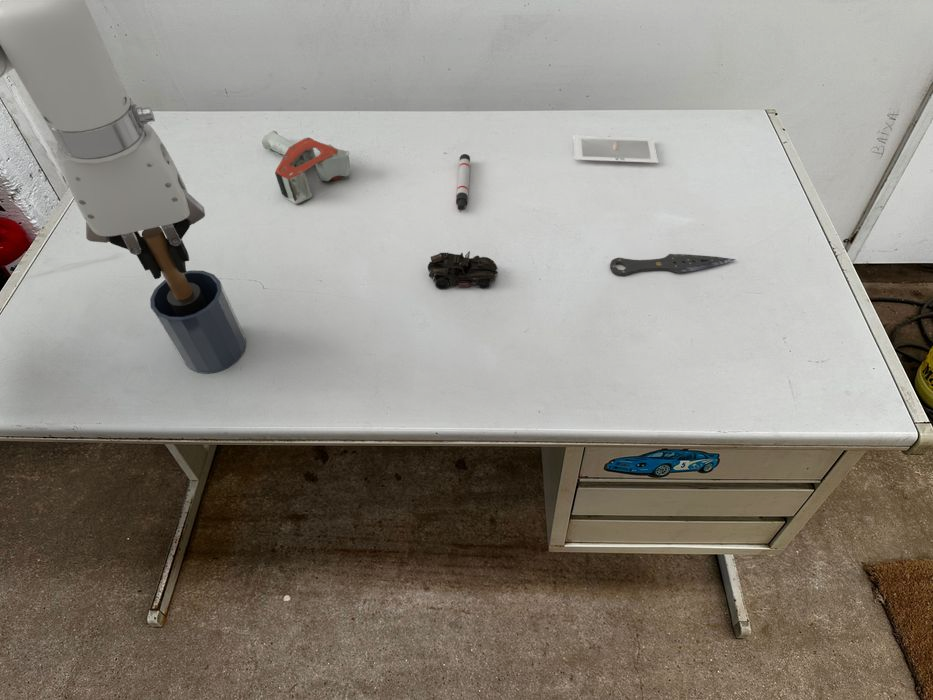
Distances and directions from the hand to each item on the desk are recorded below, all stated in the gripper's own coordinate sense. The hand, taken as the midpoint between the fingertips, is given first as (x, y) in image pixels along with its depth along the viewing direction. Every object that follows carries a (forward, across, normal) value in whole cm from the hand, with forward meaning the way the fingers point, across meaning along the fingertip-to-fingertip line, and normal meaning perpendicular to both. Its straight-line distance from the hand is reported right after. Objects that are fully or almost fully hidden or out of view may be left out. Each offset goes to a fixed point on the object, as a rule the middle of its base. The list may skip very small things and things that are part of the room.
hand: (169, 267), depth 73 cm
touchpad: (+15, -75, -22) cm, 80 cm away
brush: (+10, 0, 0) cm, 10 cm away
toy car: (+15, -38, -1) cm, 41 cm away
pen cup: (+16, 0, 0) cm, 16 cm away
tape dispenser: (+16, -20, -37) cm, 45 cm away
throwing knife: (+15, -69, +8) cm, 71 cm away
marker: (+15, -45, -22) cm, 53 cm away
